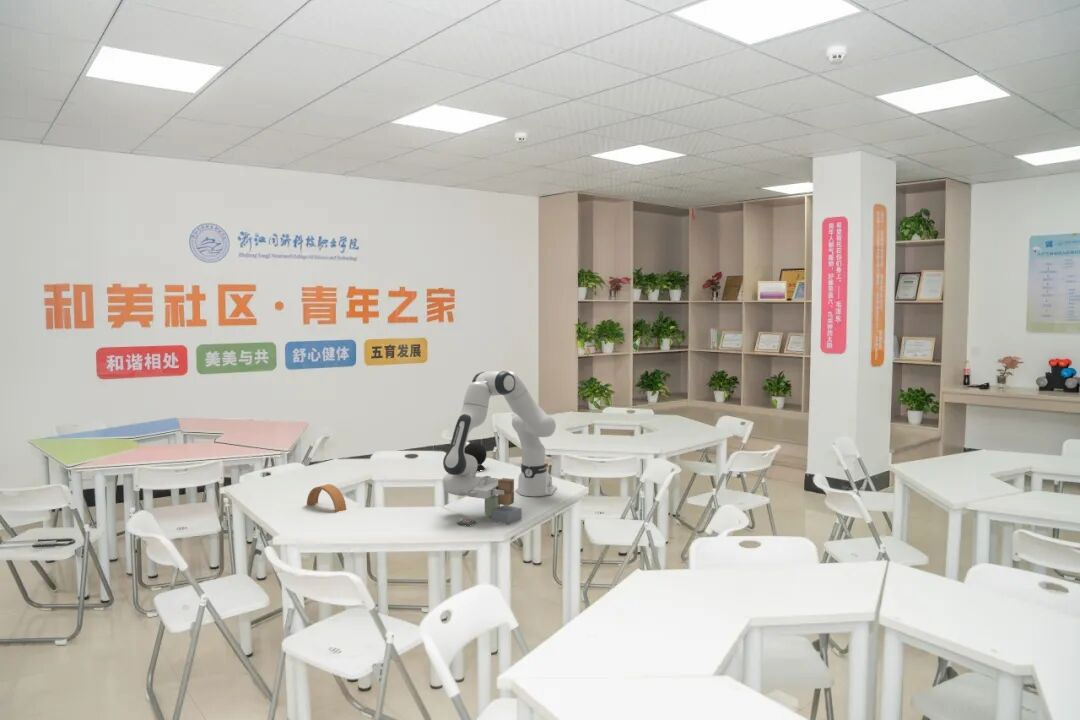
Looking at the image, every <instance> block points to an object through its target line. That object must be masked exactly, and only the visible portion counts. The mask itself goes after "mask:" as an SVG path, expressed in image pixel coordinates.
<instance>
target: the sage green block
mask: <svg viewBox="0 0 1080 720" xmlns="http://www.w3.org/2000/svg"><path fill="white" fill-rule="evenodd" d="M500 506H501V504H498V495H494V496H492V497H490V498H488V499H484V516H485V515H487V516H486V517H491V510H492V509H495V508H497V507H500Z"/></svg>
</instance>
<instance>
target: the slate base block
mask: <svg viewBox="0 0 1080 720" xmlns="http://www.w3.org/2000/svg"><path fill="white" fill-rule="evenodd" d="M490 520H491V522H495V521H496V522H495V523H499V522H501V523H500V524H503V523H505V524H504V525H511V524H513V523H516V522H518V520H519V521H521V520H522V508H521V507H516V506H512V505H500V507H497V508H495V509H492V510H491V516H490ZM510 523H511V524H510Z"/></svg>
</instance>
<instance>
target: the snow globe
mask: <svg viewBox="0 0 1080 720" xmlns="http://www.w3.org/2000/svg"><path fill="white" fill-rule="evenodd" d="M464 453H465V454H469V455H472V456H474V457H475V458H476V460H477V462H478V468H477V471H480V470H484V469H486V468H485V466H484V465H482V464H484V463H485V462H486V459H487V455H488V454H487V450H486V447H484V445H483V444H482V443H479V442H470V443H468V444H466V445H465V449H464ZM484 471H485V470H484ZM480 472H481V471H480Z"/></svg>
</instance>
